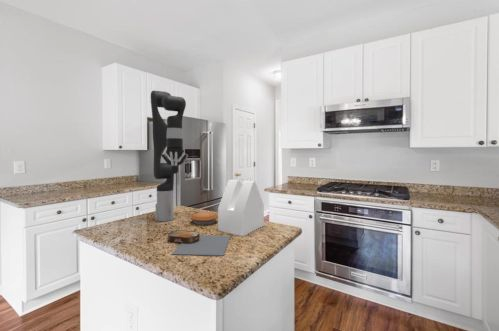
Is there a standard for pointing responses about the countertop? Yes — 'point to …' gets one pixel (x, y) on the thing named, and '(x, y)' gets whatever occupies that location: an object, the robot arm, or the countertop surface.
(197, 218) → the pie
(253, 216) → the milk carton
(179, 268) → the countertop surface
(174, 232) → the tin
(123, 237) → the countertop surface
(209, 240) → the mat
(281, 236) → the countertop surface
